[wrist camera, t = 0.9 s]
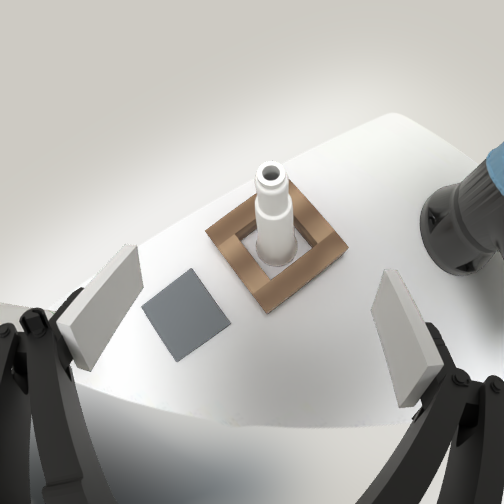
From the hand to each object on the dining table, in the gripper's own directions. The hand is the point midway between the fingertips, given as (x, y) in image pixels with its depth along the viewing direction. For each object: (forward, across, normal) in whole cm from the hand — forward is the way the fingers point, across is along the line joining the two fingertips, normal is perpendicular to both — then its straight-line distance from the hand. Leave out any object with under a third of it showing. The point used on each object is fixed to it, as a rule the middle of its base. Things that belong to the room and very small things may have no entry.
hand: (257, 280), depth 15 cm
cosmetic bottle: (+26, +1, -12) cm, 29 cm away
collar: (+26, +1, -11) cm, 29 cm away
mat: (+19, -11, -20) cm, 30 cm away
